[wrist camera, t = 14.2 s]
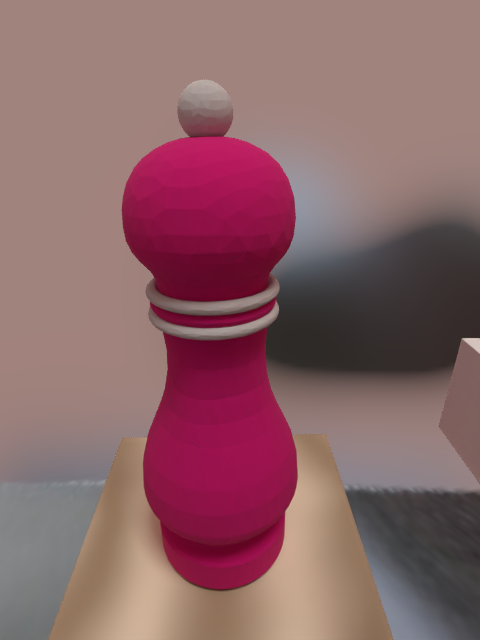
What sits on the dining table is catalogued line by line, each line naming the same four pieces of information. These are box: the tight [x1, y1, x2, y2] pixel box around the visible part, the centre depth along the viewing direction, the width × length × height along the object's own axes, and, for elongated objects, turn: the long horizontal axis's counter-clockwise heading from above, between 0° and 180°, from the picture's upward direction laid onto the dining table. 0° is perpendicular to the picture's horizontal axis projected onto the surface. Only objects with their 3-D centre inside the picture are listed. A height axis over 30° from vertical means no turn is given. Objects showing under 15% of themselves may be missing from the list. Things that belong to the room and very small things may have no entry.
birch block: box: [48, 434, 394, 640], centre depth 21 cm, size 14×14×5 cm
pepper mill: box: [122, 80, 298, 590], centre depth 16 cm, size 7×7×20 cm
